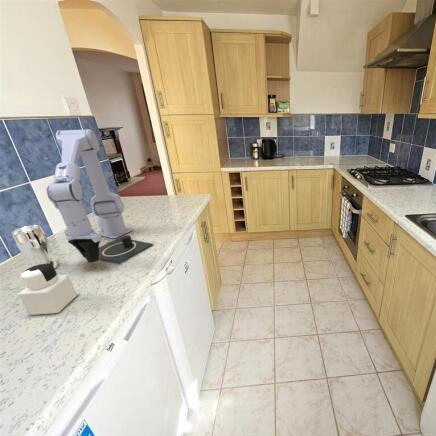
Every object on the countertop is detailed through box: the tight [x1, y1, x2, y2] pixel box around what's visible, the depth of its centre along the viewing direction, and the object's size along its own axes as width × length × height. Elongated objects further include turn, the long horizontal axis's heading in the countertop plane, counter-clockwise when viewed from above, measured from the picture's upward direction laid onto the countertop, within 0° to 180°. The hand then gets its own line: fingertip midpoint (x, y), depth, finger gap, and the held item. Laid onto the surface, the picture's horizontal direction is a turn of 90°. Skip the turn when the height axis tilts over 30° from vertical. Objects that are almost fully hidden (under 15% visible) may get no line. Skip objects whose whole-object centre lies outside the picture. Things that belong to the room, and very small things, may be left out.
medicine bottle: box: [17, 264, 78, 316], centre depth 64 cm, size 7×7×12 cm
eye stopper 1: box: [84, 251, 100, 264], centre depth 81 cm, size 3×3×4 cm
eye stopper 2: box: [120, 234, 133, 248], centre depth 94 cm, size 3×3×4 cm
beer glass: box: [10, 224, 58, 269], centre depth 80 cm, size 7×7×15 cm
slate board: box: [98, 237, 154, 265], centre depth 93 cm, size 18×14×1 cm
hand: (91, 257), depth 81 cm, fingers closed on eye stopper 1, 3 cm apart
